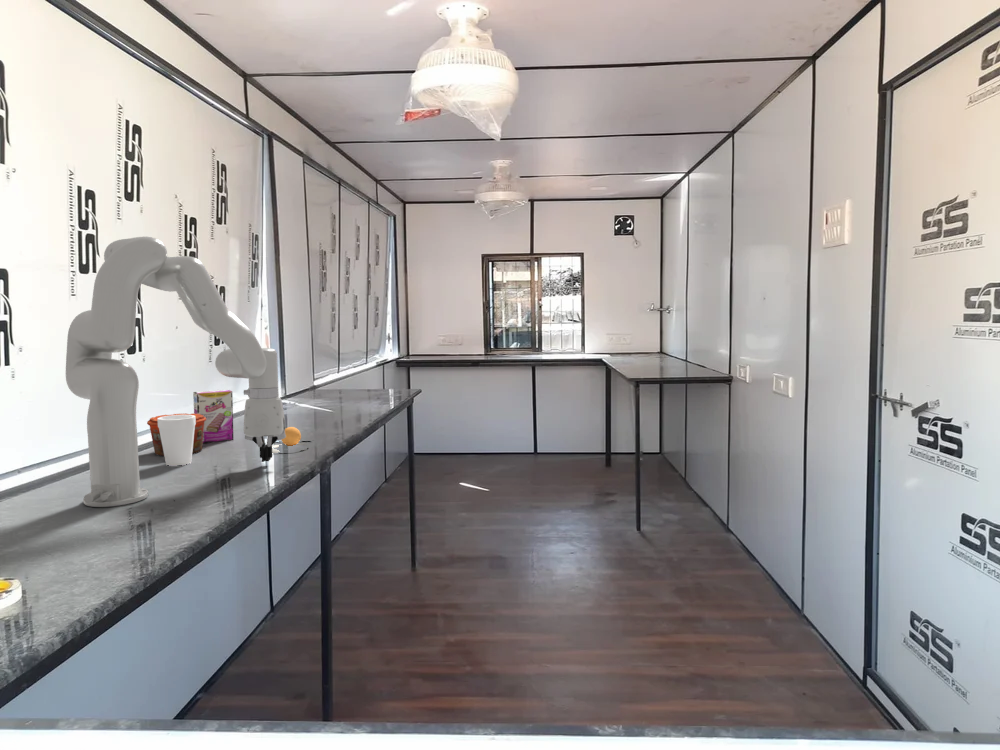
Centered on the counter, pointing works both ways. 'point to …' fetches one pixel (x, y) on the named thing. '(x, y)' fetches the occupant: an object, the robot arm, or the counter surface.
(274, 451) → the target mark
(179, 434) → the foam cup
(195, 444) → the food container
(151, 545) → the counter surface
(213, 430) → the candy bar box
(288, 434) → the ball
